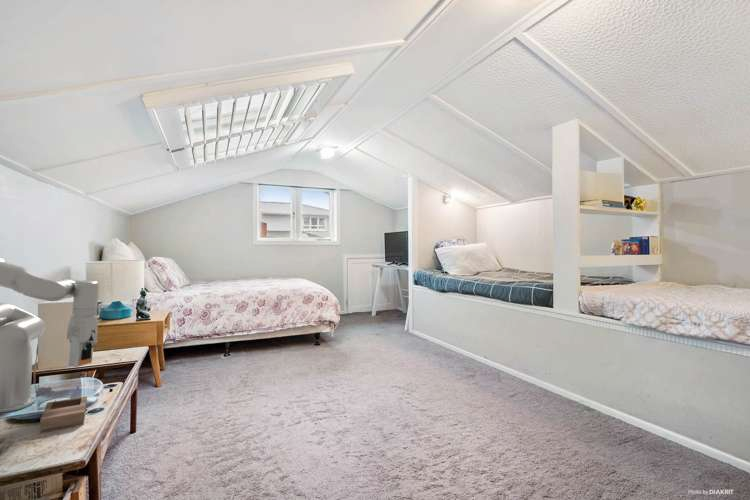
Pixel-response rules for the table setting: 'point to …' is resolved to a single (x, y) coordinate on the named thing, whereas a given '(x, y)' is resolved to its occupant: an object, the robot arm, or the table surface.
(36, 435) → the table surface
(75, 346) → the skincare box
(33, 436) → the table surface
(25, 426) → the table surface
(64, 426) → the walnut stand
